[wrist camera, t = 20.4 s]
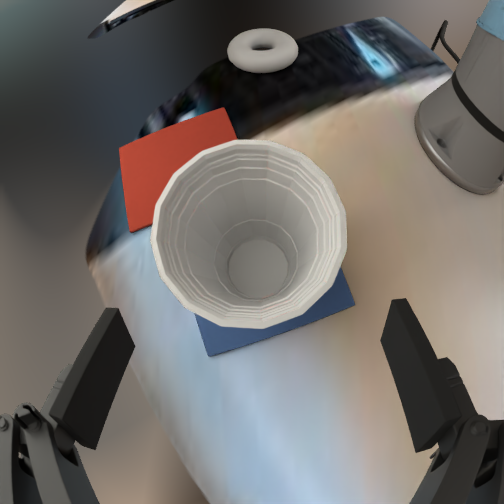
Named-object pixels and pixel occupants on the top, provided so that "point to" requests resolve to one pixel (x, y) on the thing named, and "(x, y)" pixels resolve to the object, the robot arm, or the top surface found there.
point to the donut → (262, 61)
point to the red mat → (166, 160)
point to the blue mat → (234, 337)
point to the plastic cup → (249, 234)
